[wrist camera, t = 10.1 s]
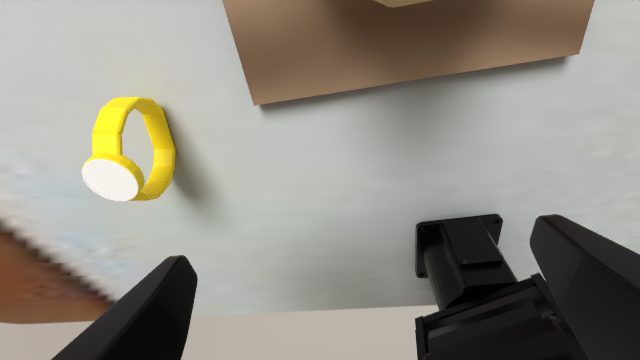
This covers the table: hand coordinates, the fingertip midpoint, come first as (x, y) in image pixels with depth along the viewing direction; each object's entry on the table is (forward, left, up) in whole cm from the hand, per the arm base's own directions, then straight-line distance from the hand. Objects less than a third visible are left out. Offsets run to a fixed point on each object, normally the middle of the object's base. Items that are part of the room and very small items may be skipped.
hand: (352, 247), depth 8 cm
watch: (-1, +12, -13) cm, 18 cm away
